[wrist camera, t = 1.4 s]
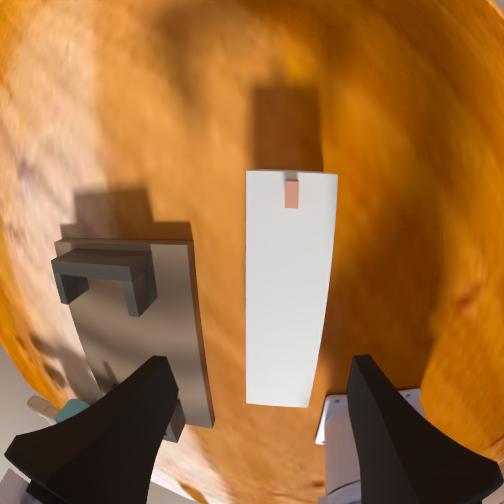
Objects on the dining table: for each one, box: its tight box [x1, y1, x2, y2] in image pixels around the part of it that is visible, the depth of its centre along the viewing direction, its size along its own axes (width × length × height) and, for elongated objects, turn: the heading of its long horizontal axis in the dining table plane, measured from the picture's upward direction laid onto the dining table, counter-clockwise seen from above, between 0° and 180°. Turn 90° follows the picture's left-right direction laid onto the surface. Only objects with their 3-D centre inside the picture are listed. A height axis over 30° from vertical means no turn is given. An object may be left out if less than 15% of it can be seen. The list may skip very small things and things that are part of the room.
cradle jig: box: [51, 239, 215, 443], centre depth 21 cm, size 19×13×4 cm
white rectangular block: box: [246, 169, 338, 407], centre depth 15 cm, size 14×4×8 cm, turn 0°
